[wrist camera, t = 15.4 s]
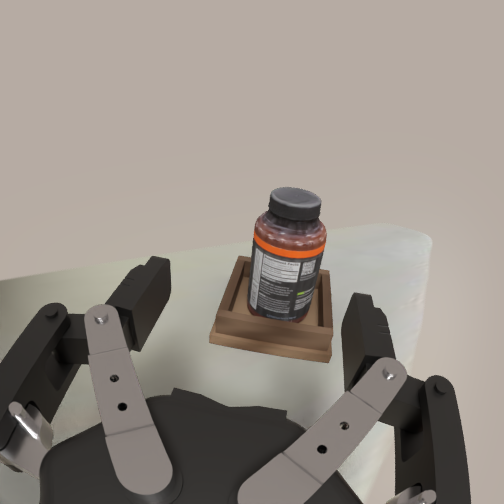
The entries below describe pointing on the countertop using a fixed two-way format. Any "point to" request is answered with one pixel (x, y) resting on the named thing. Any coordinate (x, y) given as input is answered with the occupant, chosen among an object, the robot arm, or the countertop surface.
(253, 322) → the square wooden tray
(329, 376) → the countertop surface
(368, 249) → the countertop surface
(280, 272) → the supplement bottle
